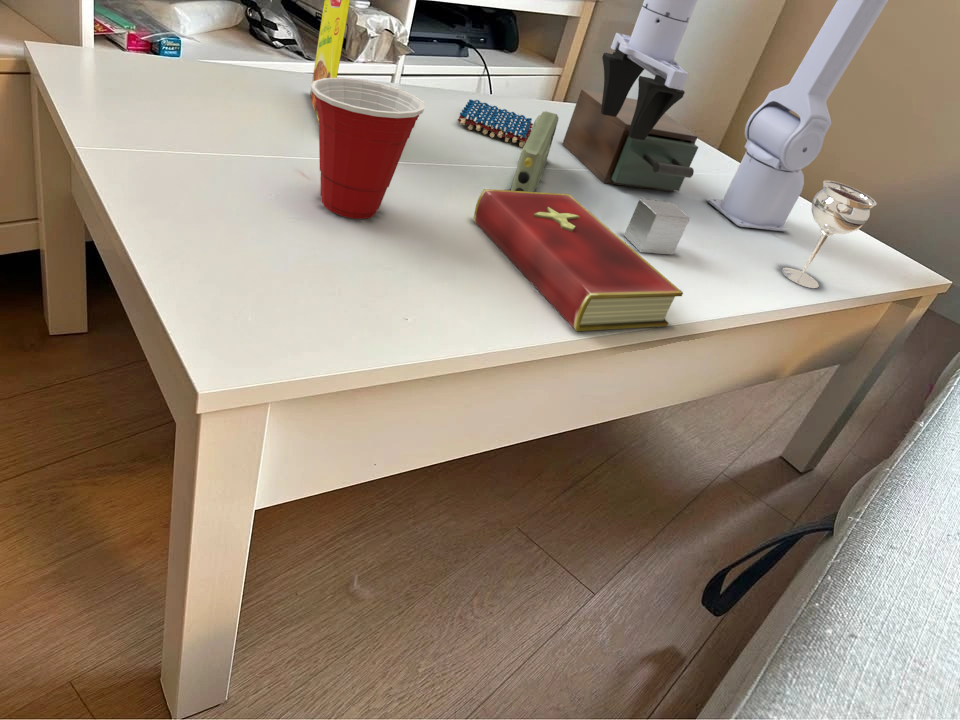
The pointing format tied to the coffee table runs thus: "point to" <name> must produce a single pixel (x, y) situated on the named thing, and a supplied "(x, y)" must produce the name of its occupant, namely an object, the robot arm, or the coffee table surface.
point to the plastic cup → (360, 141)
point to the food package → (330, 42)
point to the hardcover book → (575, 260)
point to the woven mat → (496, 121)
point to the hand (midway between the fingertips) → (621, 126)
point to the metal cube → (656, 227)
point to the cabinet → (610, 134)
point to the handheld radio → (535, 153)
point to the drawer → (654, 162)
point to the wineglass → (833, 220)
